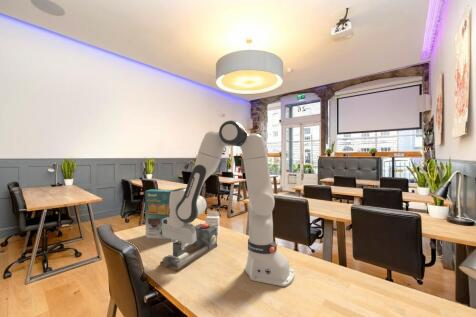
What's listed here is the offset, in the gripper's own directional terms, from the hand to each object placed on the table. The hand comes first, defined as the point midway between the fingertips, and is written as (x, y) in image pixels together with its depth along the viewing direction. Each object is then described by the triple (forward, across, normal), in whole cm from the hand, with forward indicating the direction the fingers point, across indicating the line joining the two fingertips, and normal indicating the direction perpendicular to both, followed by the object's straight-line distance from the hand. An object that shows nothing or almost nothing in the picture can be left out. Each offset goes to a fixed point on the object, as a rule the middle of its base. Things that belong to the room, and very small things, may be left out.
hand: (178, 248), depth 108 cm
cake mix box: (+7, +32, -19) cm, 38 cm away
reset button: (-4, 0, -20) cm, 21 cm away
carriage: (+6, 0, 0) cm, 6 cm away
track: (+7, 0, -9) cm, 11 cm away
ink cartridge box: (+7, +8, -39) cm, 40 cm away
